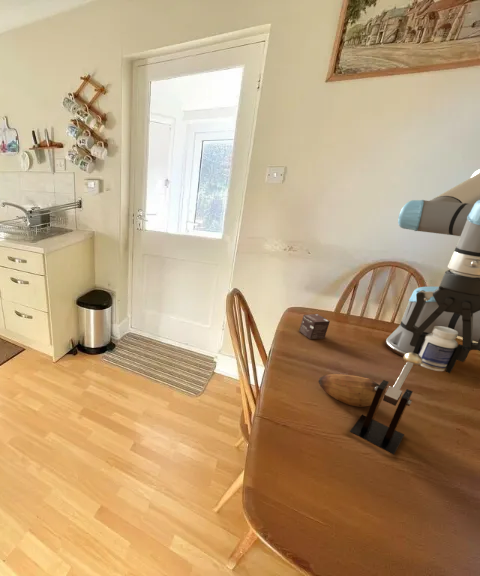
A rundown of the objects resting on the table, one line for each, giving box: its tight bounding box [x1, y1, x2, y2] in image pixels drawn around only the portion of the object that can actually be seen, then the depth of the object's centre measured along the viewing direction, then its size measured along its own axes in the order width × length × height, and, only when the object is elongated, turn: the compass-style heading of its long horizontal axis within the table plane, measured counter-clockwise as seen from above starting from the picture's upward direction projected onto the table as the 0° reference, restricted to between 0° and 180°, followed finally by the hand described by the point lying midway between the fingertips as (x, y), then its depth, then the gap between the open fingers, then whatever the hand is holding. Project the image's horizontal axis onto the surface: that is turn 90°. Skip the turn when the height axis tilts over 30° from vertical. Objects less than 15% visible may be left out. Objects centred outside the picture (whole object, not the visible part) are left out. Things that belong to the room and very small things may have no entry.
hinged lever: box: [382, 353, 422, 406], centre depth 71 cm, size 15×3×3 cm, turn 126°
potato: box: [318, 373, 380, 408], centre depth 83 cm, size 8×14×8 cm
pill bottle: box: [418, 326, 459, 372], centre depth 74 cm, size 5×5×10 cm
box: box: [298, 313, 330, 340], centre depth 117 cm, size 6×6×7 cm
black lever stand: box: [349, 379, 414, 455], centre depth 71 cm, size 9×8×14 cm
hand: (430, 364), depth 75 cm, fingers closed on pill bottle, 5 cm apart
